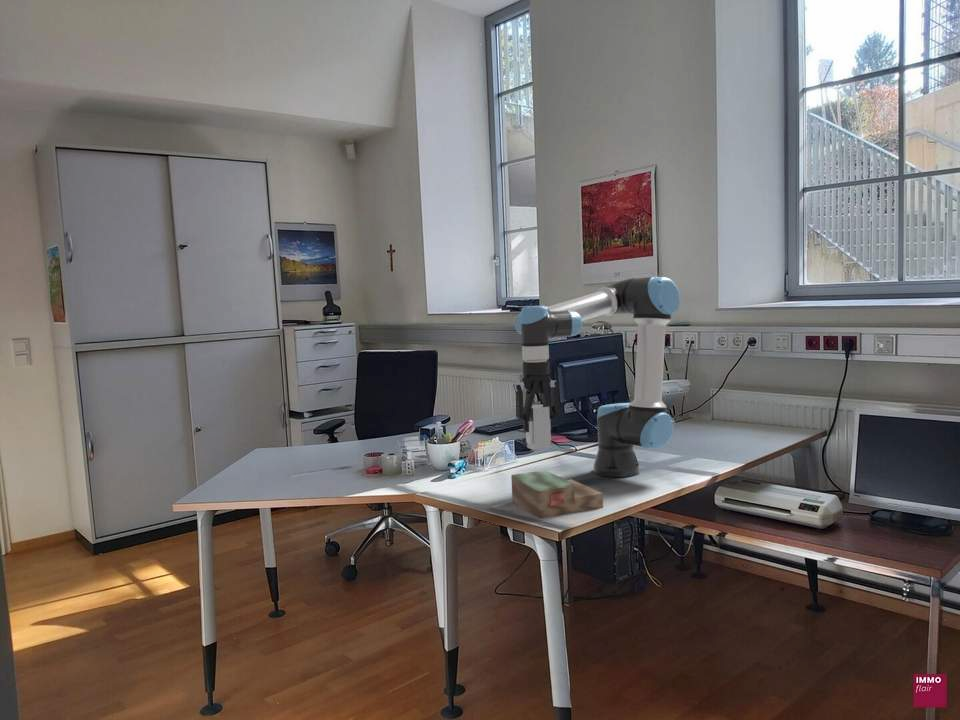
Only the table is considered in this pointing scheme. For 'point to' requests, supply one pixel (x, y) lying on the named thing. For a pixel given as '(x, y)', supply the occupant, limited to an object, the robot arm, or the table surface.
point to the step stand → (552, 494)
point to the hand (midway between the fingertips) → (538, 441)
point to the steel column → (540, 427)
